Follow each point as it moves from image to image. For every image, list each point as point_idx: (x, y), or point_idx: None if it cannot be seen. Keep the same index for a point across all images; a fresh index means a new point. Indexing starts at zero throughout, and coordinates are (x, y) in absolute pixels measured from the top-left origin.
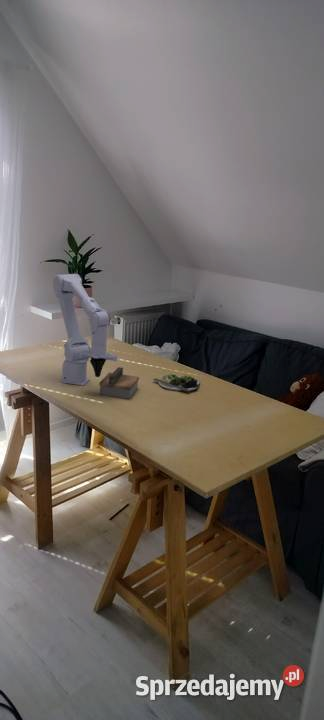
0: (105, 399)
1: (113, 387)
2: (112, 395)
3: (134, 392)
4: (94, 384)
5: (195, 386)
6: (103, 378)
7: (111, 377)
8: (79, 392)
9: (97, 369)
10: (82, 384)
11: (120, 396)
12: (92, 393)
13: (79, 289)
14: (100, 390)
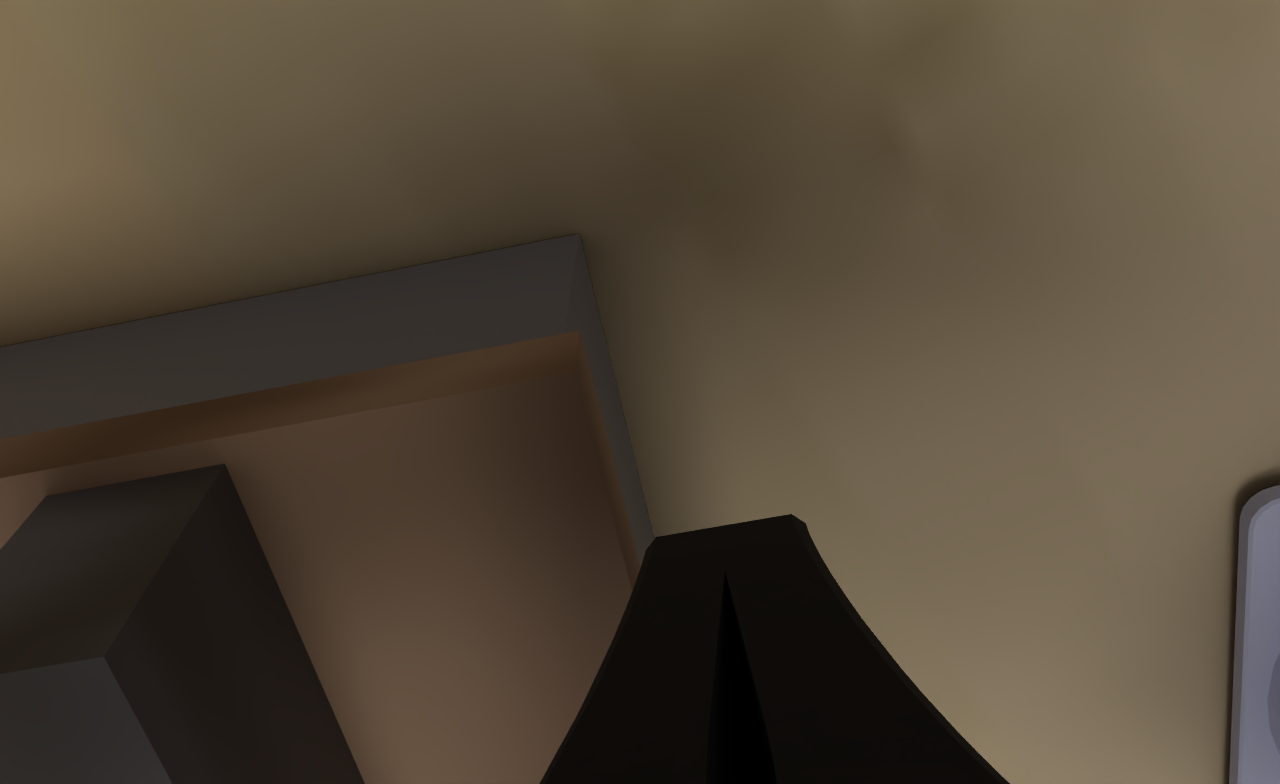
0: (250, 25)
1: None
2: (220, 316)
3: None
4: (1016, 687)
5: None
6: None
7: (10, 657)
8: (1170, 58)
9: (688, 773)
10: (1277, 505)
11: (5, 360)
12: (797, 202)
13: None
14: (552, 284)
